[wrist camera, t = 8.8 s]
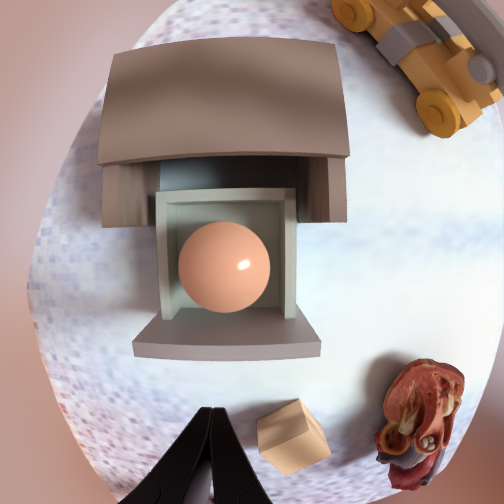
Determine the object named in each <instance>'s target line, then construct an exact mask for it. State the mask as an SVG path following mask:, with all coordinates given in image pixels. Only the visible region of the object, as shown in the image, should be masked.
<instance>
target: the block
mask: <svg viewBox="0 0 504 504" xmlns="http://www.w3.org/2000/svg"><path fill="white" fill-rule="evenodd" d="M256 422H257V435H258V448H259V454H260V455H262V456H263V457H264V458H265V459H266V460H267V461H269V462H270V463H271V464H272V465H273V466H274V467H276V468H277V469H278V470H279V471H281V472H282V473H283V474H284V475H286V476H287V475H289V474H292V473H294V472H297V471H299V470H301V469H303V468H306V467H308V466H310V465H312V464H315V463H317V462H319V461H321V460H323V459H325V458H327V457H329V456H331V455H332V454H331V451H330V449H329V446H328V444H327V441H326V438H325V436H324V433H323V431H322V428H321V425H320V424H319V423H318V421H317V420H316V419H315V418H314V416H313V415H312V414H311V413H310V411H309V410H308V409H307V408H306V407H305V405H304V404H303V403H302V401H301V400H300V399H297V400H296V401H294V402H292V403H290V404H288V405H286V406H284V407H282V408H280V409H278V410H276V411H274V412H272V413H270V414H268V415H266V416H264V417H262V418H260V419H258V420H256Z"/></svg>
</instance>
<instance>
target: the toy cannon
mask: <svg viewBox="0 0 504 504" xmlns="http://www.w3.org/2000/svg"><path fill="white" fill-rule="evenodd" d="M331 6H332V10H333V13H334V15H335V17H336V19H337V20H338V21H339V22H340V23H341V24H342V25H343V26H344V27H345V28H346V29H348V30H350V31H353V32H362V31H365V30H367V31H368V32H369V33H370V34H371V35H372V36H373V37H374V38H375V39H376V40H377V42H378V44H377V45H376V48H377V49H378V50H379V51H380V52H381V53H382V55H383V56H384V57H385V58H386V59H387V60H388V62H389V63H390V64H391V65H392V66H393V67H394V66H397V65H399V67H400V68H401V69H402V70H403V72H404V73H405V74H406V76H407V77H408V78H409V79H410V81H411V82H412V83H413V85H414V86H415V87H416V89H417V90H418V92H419V93H420V95H419V96H418V97H417V101H416V109H417V113H418V116H419V117H420V119H421V120H422V122H423V123H424V125H425V127H426V128H427V130H429V131H430V132H431V133H432V134H434V135H435V136H438V137H440V138H449V137H451V136H452V135H453V134H454V133H456V132H457V131H458V130H459V129H462V128H464V127H467V126H468V125H470V124H471V123H472V122H473V121H474V120H476V119H477V118H478V117H479V116H480V115H482V114H483V113H482V111H481V109H482V108H484V107H487V106H489V105H491V104H494V103H496V102H497V101H498V100H499V99H500V98H501V97H502V96H504V20H503V19H502V18H501V17H500V16H499V14H498V13H497V12H496V11H495V10H494V9H493V8H492V7H491V6H490V4H489V3H488V2H487V1H486V0H332V3H331Z"/></svg>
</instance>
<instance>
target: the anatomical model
mask: <svg viewBox="0 0 504 504" xmlns="http://www.w3.org/2000/svg"><path fill="white" fill-rule="evenodd" d="M463 391H464V375H463V374H462V373H461V372H460V371H459V370H458V369H457V368H455V367H454V366H452V365H449V364H447V363H438V362H436V361H434V360H432V359H417V360H415V361H413V362H410V363H409V364H408V365H407V366H406V367H405V368H404V369H403V370H402V371H401V372H400V374H399V375H398V377H397V378H396V379H395V380H394V381H393V383H392V384H391V386H390V387H389V389H388V391H387V393H386V396H385V399H384V403H383V410H384V414H385V417H386V419H387V420H388V422H387V424H386V425H385V426H384V428H383V429H381V430H380V431H378V432H377V433H376V434H375V440H376V443H377V450H378V456H377V458H376V460H377V461H378V462H381V464H388V463H390V470H389V474H388V477H389V479H390V481H391V484H392V488H395V489H401V490H407V489H409V490H411V491H413V490H417V489H419V488H420V486H425V485H429V484H430V483H431V481H432V479H433V478H434V476H435V474H436V473H437V471H438V469H439V466H440V464H441V462H442V459H443V456H444V452H445V449H446V447H447V445H448V443H449V440H450V436H451V432H452V428H453V421H454V417H455V414H456V412H457V410H458V408H459V407H460V405H461V402H462V401H461V396H462V394H463Z"/></svg>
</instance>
